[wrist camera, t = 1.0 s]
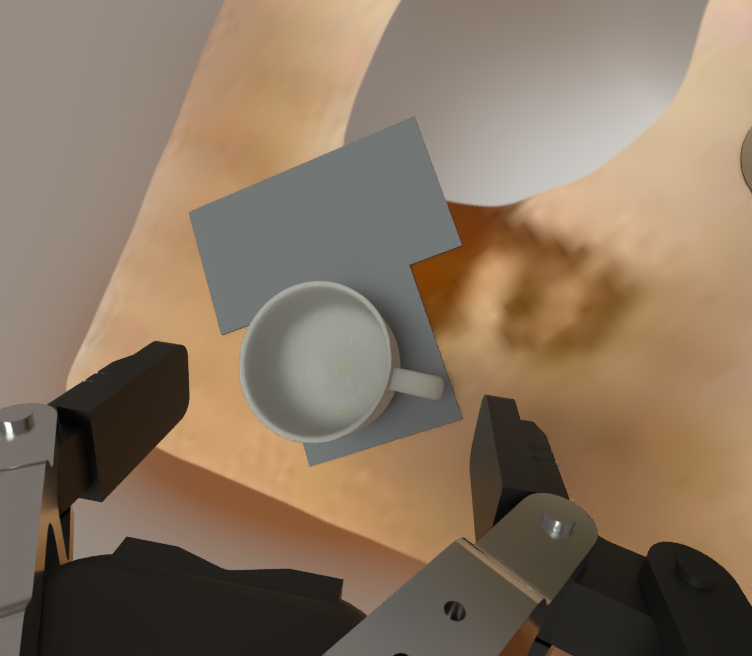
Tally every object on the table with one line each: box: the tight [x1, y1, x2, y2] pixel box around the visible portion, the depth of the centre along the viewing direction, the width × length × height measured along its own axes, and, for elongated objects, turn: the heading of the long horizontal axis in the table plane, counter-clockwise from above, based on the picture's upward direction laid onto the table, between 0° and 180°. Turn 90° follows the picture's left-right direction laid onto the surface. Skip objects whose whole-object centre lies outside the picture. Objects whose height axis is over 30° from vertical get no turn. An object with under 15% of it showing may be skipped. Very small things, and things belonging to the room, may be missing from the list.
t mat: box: [189, 117, 463, 466], centre depth 39 cm, size 22×25×1 cm
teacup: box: [239, 281, 444, 444], centre depth 34 cm, size 14×11×8 cm
